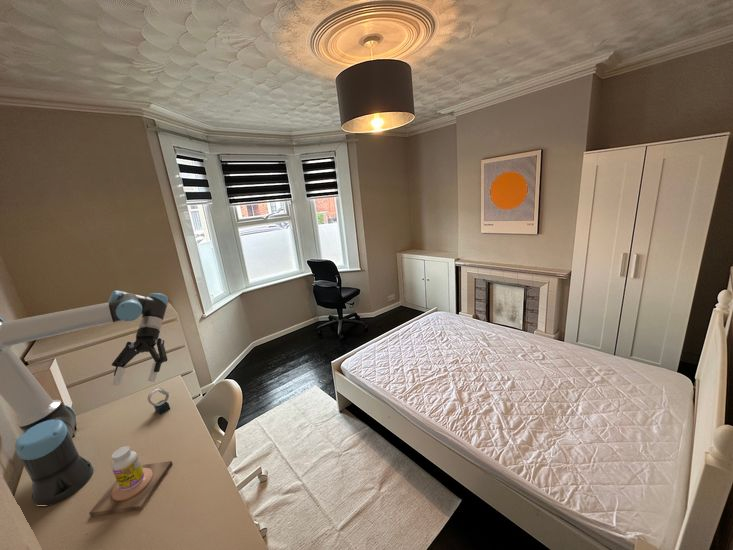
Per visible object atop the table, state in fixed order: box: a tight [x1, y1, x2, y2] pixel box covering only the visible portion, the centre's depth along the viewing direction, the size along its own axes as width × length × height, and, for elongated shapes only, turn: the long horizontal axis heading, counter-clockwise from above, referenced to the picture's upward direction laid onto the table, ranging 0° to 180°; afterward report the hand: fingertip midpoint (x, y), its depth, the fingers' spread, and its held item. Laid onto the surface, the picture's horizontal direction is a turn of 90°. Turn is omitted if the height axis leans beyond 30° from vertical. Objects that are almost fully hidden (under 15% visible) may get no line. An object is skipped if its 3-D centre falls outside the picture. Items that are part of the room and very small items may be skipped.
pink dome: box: [112, 468, 153, 501], centre depth 98 cm, size 11×11×1 cm
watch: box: [147, 387, 171, 415], centre depth 137 cm, size 6×8×11 cm
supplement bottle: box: [111, 445, 144, 491], centre depth 96 cm, size 7×7×13 cm
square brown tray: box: [88, 460, 173, 517], centre depth 99 cm, size 16×16×2 cm
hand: (133, 383), depth 110 cm, fingers open, 13 cm apart
